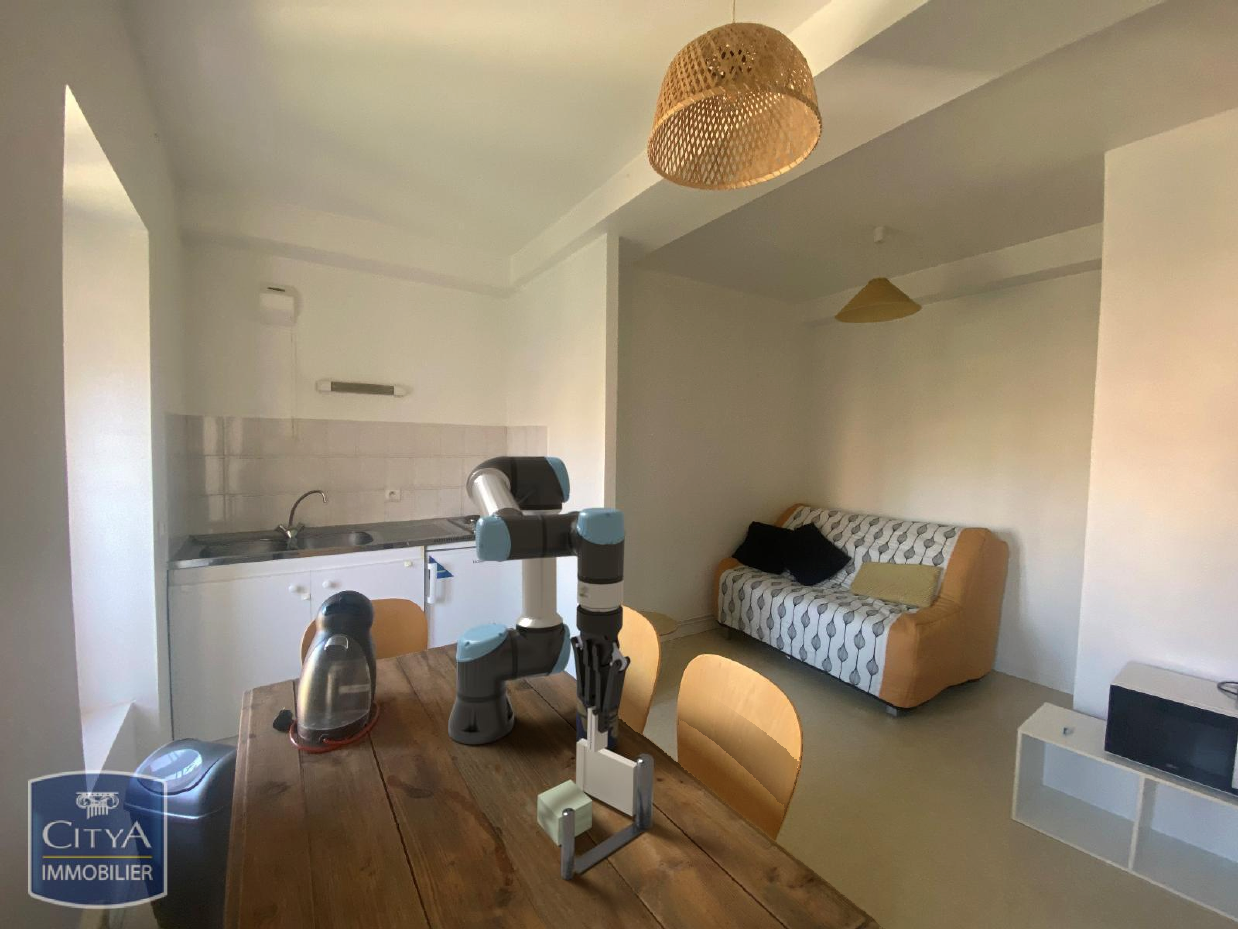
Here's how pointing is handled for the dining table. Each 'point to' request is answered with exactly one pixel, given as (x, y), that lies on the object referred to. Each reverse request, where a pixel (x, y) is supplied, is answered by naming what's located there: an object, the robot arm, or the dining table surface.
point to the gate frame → (619, 839)
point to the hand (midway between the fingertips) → (597, 747)
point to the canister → (583, 726)
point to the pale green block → (559, 800)
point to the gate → (607, 777)
